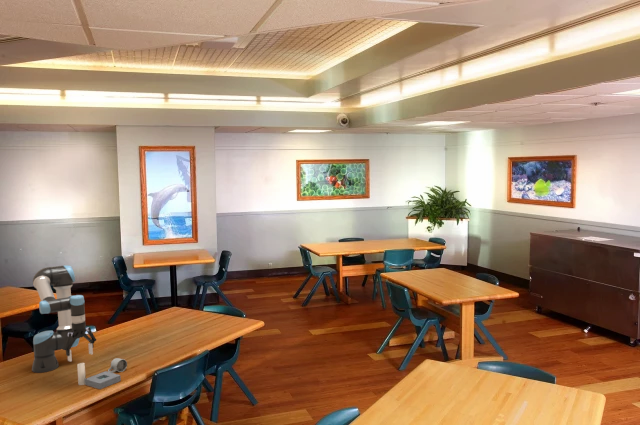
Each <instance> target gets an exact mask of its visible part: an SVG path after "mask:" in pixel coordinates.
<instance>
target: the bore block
mask: <svg viewBox="0 0 640 425" xmlns="http://www.w3.org/2000/svg"><path fill="white" fill-rule="evenodd" d="M121 376H122V375H120V374H118V373H117V374H116V373H115V372H114V373H111V372H108V370H105V371H102V372H100V373H97V374H94V375H90V376H89V377H87V378H86V377H85V378H86V379H85V384H84V385H85V386H87V387H92V388H93V389H97V390H102V389H104V388H107V387H110V386H112V385H115V384H117V383H119V382H121V381H122V380H121Z"/></svg>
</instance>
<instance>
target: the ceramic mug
mask: <svg viewBox="0 0 640 425" xmlns="http://www.w3.org/2000/svg"><path fill="white" fill-rule="evenodd" d="M127 367H128V362H127V360H126V359H124V358H118V357H117V358H113V359H112V360H111V362H110V367H109V368H108V370H107V372H111V373H114V374H115V373H116V372H119V373H123V372H124V371H126V369H127Z"/></svg>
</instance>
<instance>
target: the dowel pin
mask: <svg viewBox="0 0 640 425" xmlns="http://www.w3.org/2000/svg"><path fill="white" fill-rule="evenodd" d="M85 364H86V363H85V362H79V363H77V365H76V366H77V368H76V369H77V382H78V386H83V385H85V379H86V367H85V366H86V365H85Z"/></svg>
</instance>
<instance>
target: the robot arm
mask: <svg viewBox="0 0 640 425" xmlns="http://www.w3.org/2000/svg"><path fill="white" fill-rule="evenodd" d="M75 282H76V276H75V271H74V269H73V266H71V265H65V264H64V265H58V266H56V265H55V266H48V267H43V268H42V269H39V270H38V271H37V272H36V273H35V274H34V276H33V278H32V285H33V287H34V288H35V289H36V292H37V293H38V297H39V299H40V301H39V303H38V305H39V306H38V307H39V308H38V309H39V313H40V314H41V315H44V314H48V315H49V314H51V313H57V317H58V318H57V319H58V326H57V328H56V332H55V331H53V330H44V331H41V332H39V333H37V334H35V335H34V336H33V341H32V344H33V354H34V355H33V356H34V359H33V362H32V365H31V372H33V373H37V374H38V373H47V372H51V371H53V370H56V369H58V368H59V361H58V358H57V357H56V352H55V351H61V350H62V351H65V355H66V356H67V362H72V361H73V359H72V358H73V357H72V356H73V355H72V349H71V348H75V347H77V346H78V345H79V342H80V338H84V339H86V340H87V342H88V354H89V355H93V354H94V350H93V349H94V347H95V346H94V344H95V342H96V341H97V338H96V336H95V334H93V332H92V327H88V326H86V323H87V322H86V311H85V310H86V309H85V308H86V307H85V297H84V295H82V294H76V295H72V293H71V292H72V291H71V288H72V287H73V285H74V283H75ZM51 286H52V287H51ZM52 288H53V289H54V290H55V293H56V297H55V295H54V291H53V290H52ZM86 332H87V333H86Z"/></svg>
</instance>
